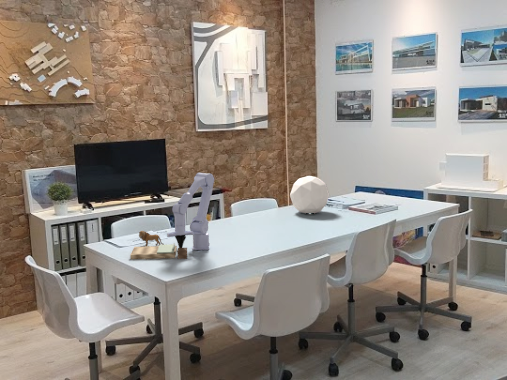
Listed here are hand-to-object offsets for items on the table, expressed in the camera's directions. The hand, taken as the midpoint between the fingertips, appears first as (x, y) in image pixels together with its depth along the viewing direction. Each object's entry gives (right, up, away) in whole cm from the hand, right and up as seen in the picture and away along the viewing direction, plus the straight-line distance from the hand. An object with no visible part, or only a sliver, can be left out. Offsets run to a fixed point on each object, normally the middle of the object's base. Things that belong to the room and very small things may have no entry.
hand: (180, 248), depth 315 cm
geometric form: (+83, +15, +113) cm, 142 cm away
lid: (-8, 0, 0) cm, 8 cm away
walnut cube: (+2, -4, -7) cm, 8 cm away
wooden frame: (-15, -3, 0) cm, 15 cm away
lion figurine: (-20, -1, +20) cm, 28 cm away
